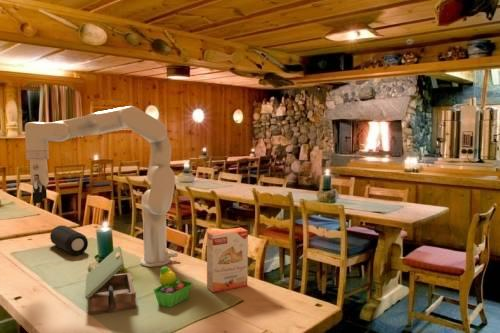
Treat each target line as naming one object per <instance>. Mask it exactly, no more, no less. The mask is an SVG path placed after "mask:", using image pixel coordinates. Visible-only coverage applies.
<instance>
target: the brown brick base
mask: <svg viewBox="0 0 500 333" xmlns="http://www.w3.org/2000/svg"><path fill="white" fill-rule="evenodd" d="M109 284H112V285H113V295H114V305H115V308H114V309H113V310H111V309H110V301H109V287H108V286H109ZM136 294H137V291H136V289H135V287H134V281H133V276H132V275H131V272H126V273H125V272H123V273H116V274H115V275H114V276H113V277H111V278H110V279H109V280H108V281H107V282H106V283H105V284H104V285H103V286H102V287H100V288H99V289H98V290H97V291H96V292H95V293H94V294H93V295H92V296H91V297H90V298H88V299H87V308H88V309H87V310H88V316H93V315H99V314H104V313H105V314H106V313H111V312H112V313H113V312H118V311H125V310H132V309H136V297H137V296H136Z"/></svg>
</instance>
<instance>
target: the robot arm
mask: <svg viewBox="0 0 500 333" xmlns="http://www.w3.org/2000/svg"><path fill="white" fill-rule="evenodd" d="M125 129H129V130H132V131H134V132H135V133H137V134H139V135H141V136H142V137H143V139H144V140H146V141H147V142H148V144H149V146H150V158H149V162H148V168H147V174H146V178H147V180H148V182H149V183H150V188H149V189H147V190H146V191H144V193H143V194H142V196H141V201H140V204H141V211H142V213H141V214H142V225H143V226H142V228H143V230H142V233H143V235H142V236H143V257H142V258H141V259H140V260H139V263H140V265H142V266H144V267H164V266H166V265H168V264H169V263H170V262H171V258H177V257H179V253H178V251H175V252H174V251H168V250H167V249H168V248H167V216H166V214H167V213H168V211H170V209H171V206H172V203H173V198H174V190H175V185H176V184H175V183H176V175H175V172H174V170H173V169H172V167H171V159H172V144H171V141H170V138H169V136H168V130H167V126H166V125H165V124H164V122H162V121H160V120H158V119H156V118H155V117H153V116H152V115H149V114H148V113H147V112H145V111H143V110H142V109H140V108H138V107H136V106H135V105H134V106H133V105H128V106H123V107H116V108H113V109H107V110H102V111H96V112H92V113H89V114H86V115H83V116H79V117H73V118H69V119H64V120H58V121H52V122H51V121H50V122H43V121H41V122H40V121H31V122H30V121H29V122H26V123H25V125H24V136H25V151H26V152H25V156H26V157H25V159H26V161H29V170H30V171H29V172H30V185H31V186H32V203H33V204H42V203H43V202H44V199H47V196H48V195H47V194H48V193H47V185H48V184H49V182H50V180H49V179H50V178H49V168H48V162H47V161H48V160H50V151H49V148H50V147H49V142H56V143H57V142H64V141H66V140H68V139H70V140H71V139H74V138H78V137H83V136H84V137H85V136H95V135H96V136H97V135H102V134H107V133H111V132H115V131H121V130H125Z"/></svg>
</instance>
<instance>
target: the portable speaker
mask: <svg viewBox="0 0 500 333" xmlns="http://www.w3.org/2000/svg"><path fill="white" fill-rule="evenodd" d="M49 236H50V237H49V239H50V242H51V243H52V244H54V245H55V246H57V247H58V248H60V249H62V250H63V251H64V252H67V253H69V254H70V255H73V256H77V255H80V254H83V253H84V252H85V251H86V250H87V249H88V245H89V242H88V241H89V240H88V238H87V236H86V235H85V234H83V233H81V232H78V231H77V230H75V229H73V228H71V227H69V226H66V225H58V226H56V227H54V228H53V229H52V230H51V232H50V235H49Z"/></svg>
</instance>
